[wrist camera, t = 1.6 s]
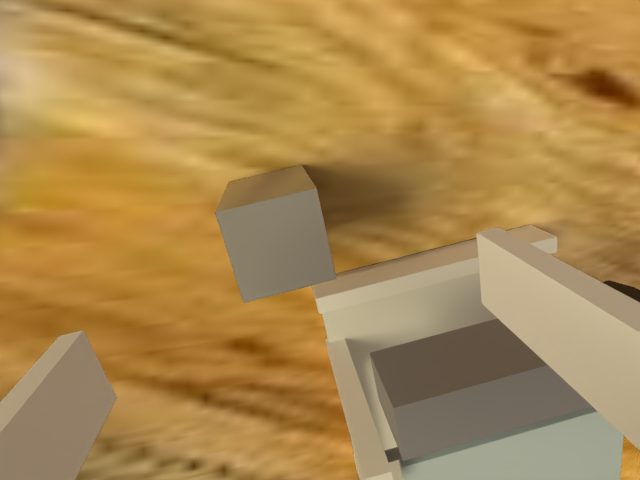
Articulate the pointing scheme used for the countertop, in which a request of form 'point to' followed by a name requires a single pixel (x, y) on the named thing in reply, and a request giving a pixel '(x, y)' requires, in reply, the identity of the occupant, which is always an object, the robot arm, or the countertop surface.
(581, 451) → the trapdoor
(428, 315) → the frame
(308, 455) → the countertop surface
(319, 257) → the gray rectangular block
